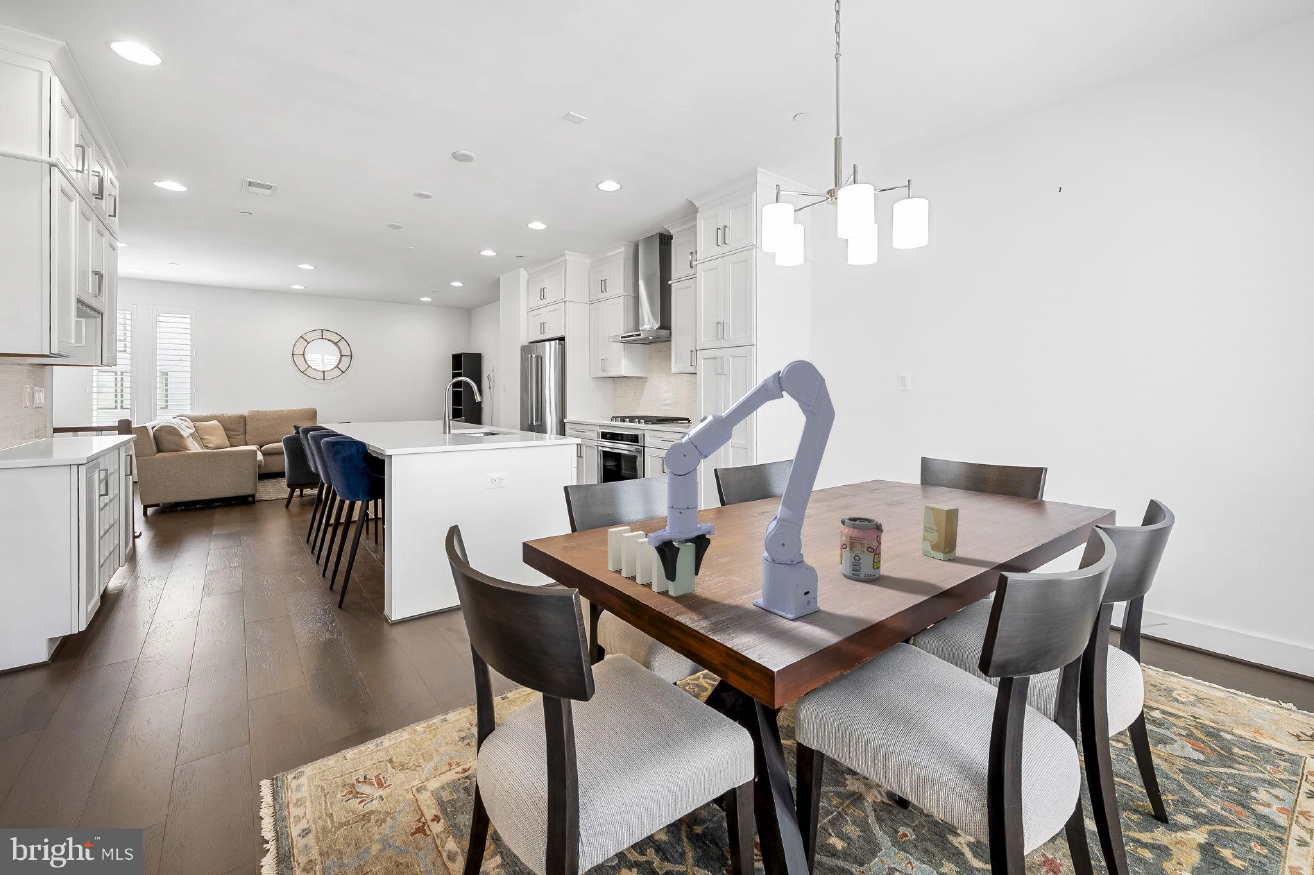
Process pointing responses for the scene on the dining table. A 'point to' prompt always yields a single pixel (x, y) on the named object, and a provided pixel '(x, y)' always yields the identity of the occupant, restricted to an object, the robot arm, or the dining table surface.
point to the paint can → (860, 548)
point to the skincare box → (940, 531)
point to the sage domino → (684, 571)
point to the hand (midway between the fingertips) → (682, 577)
